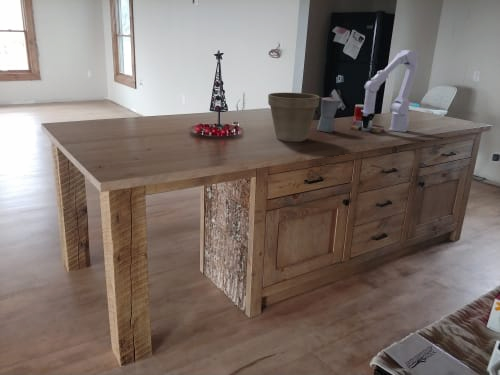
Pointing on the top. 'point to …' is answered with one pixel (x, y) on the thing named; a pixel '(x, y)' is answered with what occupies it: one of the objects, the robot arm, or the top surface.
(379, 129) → the brown wooden panels
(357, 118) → the canned food
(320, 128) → the moka pot
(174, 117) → the top surface
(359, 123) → the grey round flask
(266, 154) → the top surface
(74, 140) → the top surface
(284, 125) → the plant pot
